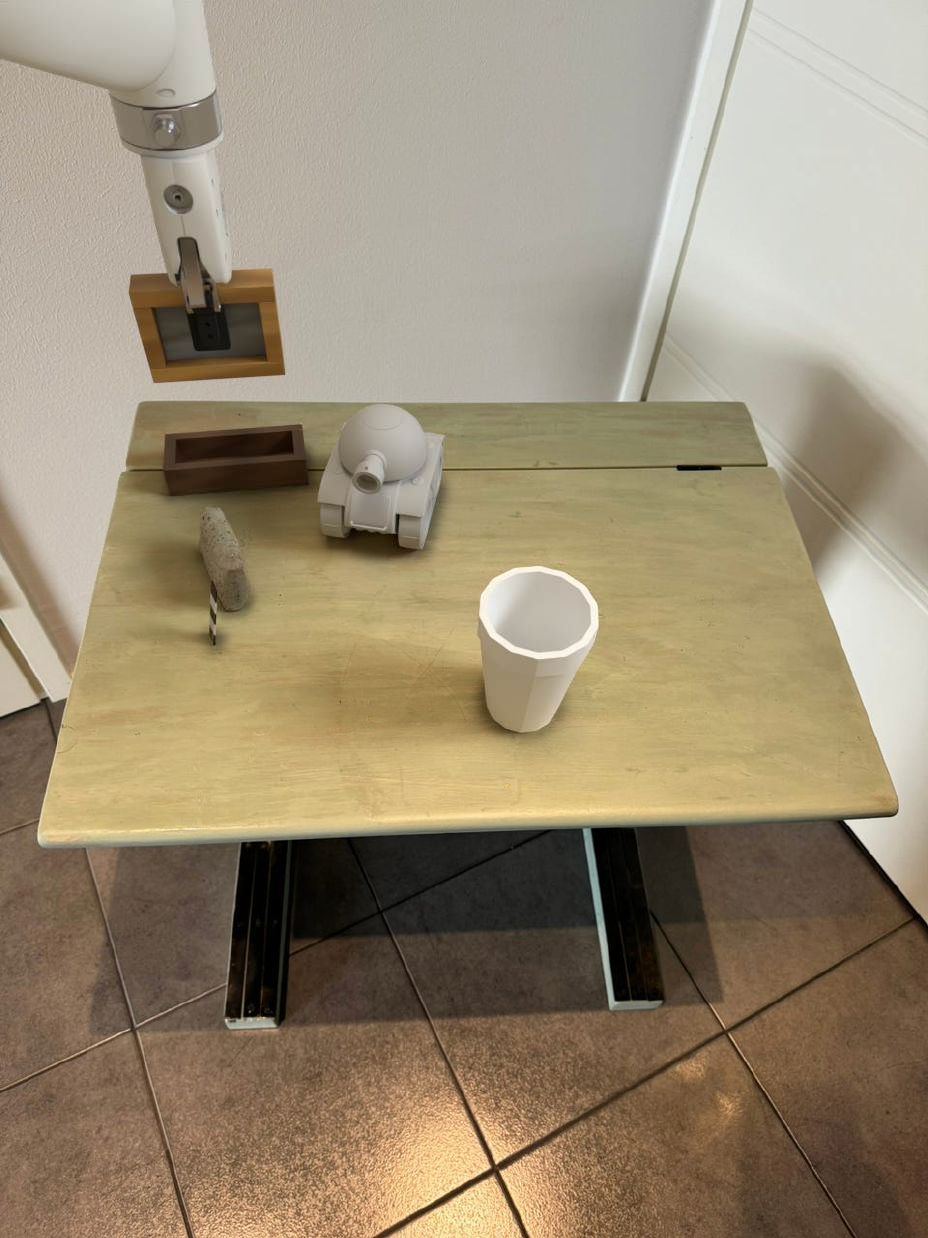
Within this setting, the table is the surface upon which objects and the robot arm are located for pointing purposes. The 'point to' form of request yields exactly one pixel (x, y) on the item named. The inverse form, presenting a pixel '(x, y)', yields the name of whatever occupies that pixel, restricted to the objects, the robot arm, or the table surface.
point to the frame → (247, 321)
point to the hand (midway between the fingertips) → (213, 335)
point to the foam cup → (533, 643)
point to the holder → (235, 459)
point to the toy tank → (382, 476)
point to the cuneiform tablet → (222, 564)
